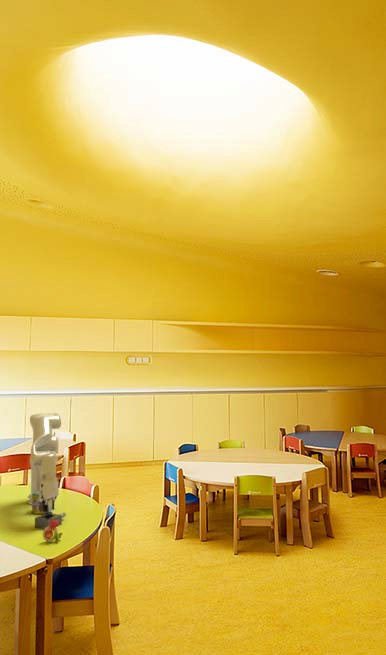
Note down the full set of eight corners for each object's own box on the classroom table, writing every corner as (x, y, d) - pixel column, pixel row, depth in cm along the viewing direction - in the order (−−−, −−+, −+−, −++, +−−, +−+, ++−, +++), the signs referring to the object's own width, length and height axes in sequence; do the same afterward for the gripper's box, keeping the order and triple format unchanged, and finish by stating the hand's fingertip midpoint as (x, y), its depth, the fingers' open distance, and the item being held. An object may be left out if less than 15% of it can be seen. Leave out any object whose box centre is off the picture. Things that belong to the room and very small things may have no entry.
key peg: (42, 515, 248) (42, 495, 249) (48, 512, 252) (48, 493, 253) (48, 516, 246) (48, 496, 246) (54, 513, 250) (54, 494, 250)
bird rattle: (46, 549, 221) (64, 540, 223) (37, 528, 221) (55, 519, 223) (48, 544, 227) (65, 535, 229) (39, 524, 227) (56, 515, 229)
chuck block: (34, 527, 246) (34, 517, 247) (58, 518, 261) (58, 509, 261) (47, 530, 241) (47, 520, 242) (70, 520, 256) (70, 511, 257)
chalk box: (45, 514, 267) (45, 489, 269) (31, 514, 269) (31, 488, 270) (53, 510, 276) (53, 485, 278) (39, 509, 278) (40, 484, 279)
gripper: (41, 480, 241) (41, 515, 240) (64, 473, 256) (64, 507, 254) (32, 479, 245) (31, 513, 243) (55, 472, 260) (55, 505, 258)
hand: (48, 510), depth 249 cm, fingers closed on key peg, 4 cm apart
